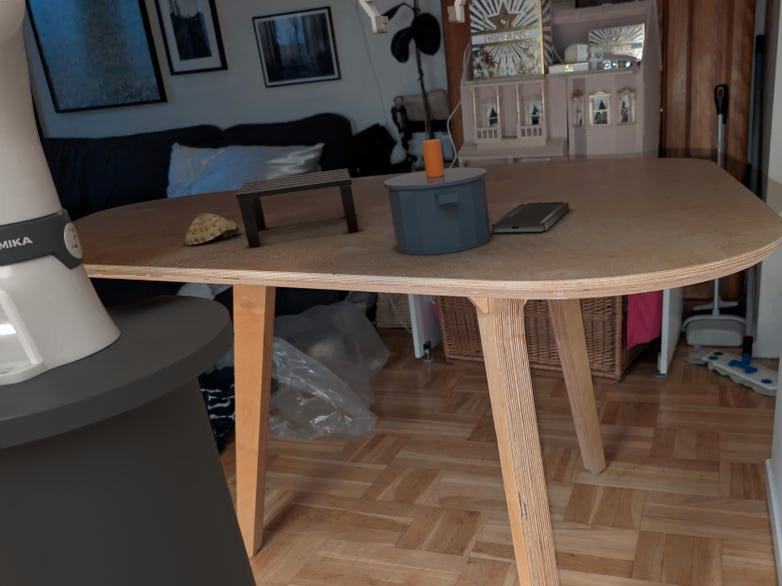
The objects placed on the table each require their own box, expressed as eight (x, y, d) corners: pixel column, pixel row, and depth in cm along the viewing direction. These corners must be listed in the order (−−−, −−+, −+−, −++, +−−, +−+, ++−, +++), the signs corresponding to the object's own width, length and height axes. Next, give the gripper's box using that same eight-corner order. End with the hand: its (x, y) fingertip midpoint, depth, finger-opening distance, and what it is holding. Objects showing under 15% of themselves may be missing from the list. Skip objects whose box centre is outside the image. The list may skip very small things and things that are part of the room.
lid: (390, 199, 85) (383, 151, 83) (381, 185, 98) (374, 143, 95) (498, 183, 87) (494, 137, 85) (475, 172, 100) (471, 130, 98)
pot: (405, 264, 86) (395, 196, 83) (391, 236, 103) (382, 178, 99) (504, 249, 88) (498, 181, 85) (475, 224, 105) (469, 166, 101)
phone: (570, 201, 107) (543, 223, 94) (570, 208, 107) (544, 231, 94) (520, 203, 109) (488, 225, 97) (521, 210, 110) (489, 233, 97)
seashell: (247, 222, 114) (197, 211, 109) (242, 256, 115) (191, 247, 110) (232, 217, 120) (184, 206, 115) (227, 249, 121) (178, 240, 116)
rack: (247, 248, 106) (235, 194, 103) (256, 229, 120) (245, 181, 117) (360, 231, 108) (351, 179, 105) (355, 214, 123) (347, 168, 120)
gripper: (302, -99, 77) (327, 39, 82) (482, -134, 71) (495, 16, 77) (327, -89, 82) (349, 39, 88) (496, -122, 77) (507, 17, 82)
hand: (418, 28), depth 82 cm, fingers open, 8 cm apart
